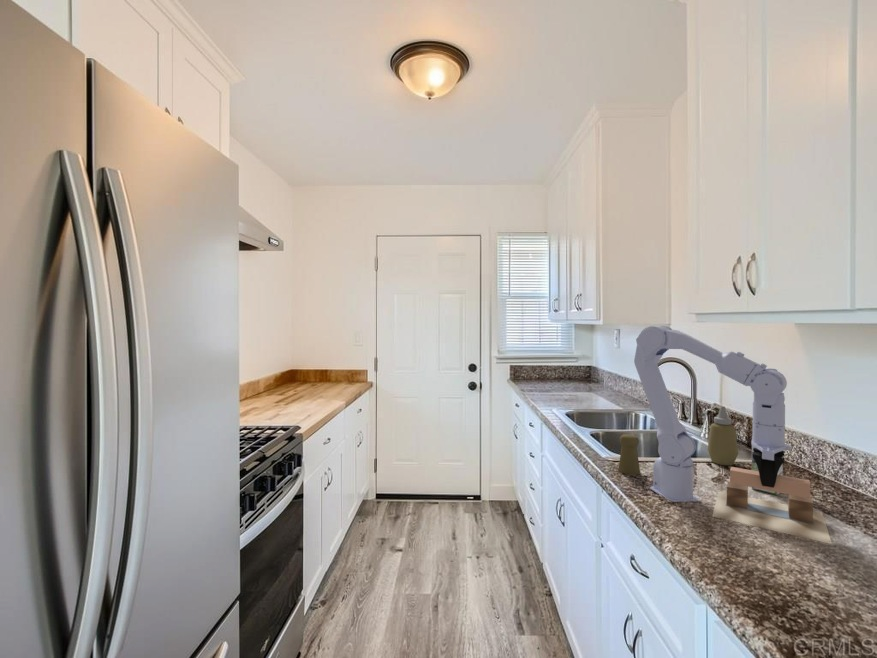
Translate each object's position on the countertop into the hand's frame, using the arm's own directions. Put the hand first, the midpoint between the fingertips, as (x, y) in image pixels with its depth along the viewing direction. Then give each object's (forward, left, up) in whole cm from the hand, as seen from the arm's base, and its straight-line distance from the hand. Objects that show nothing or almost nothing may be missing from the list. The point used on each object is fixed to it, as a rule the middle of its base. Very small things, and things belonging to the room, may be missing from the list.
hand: (767, 483), depth 95 cm
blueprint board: (-2, +2, -8) cm, 9 cm away
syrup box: (-16, +15, -9) cm, 24 cm away
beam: (0, 0, -1) cm, 1 cm away
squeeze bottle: (-38, +20, -9) cm, 44 cm away
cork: (-33, -14, -9) cm, 37 cm away
